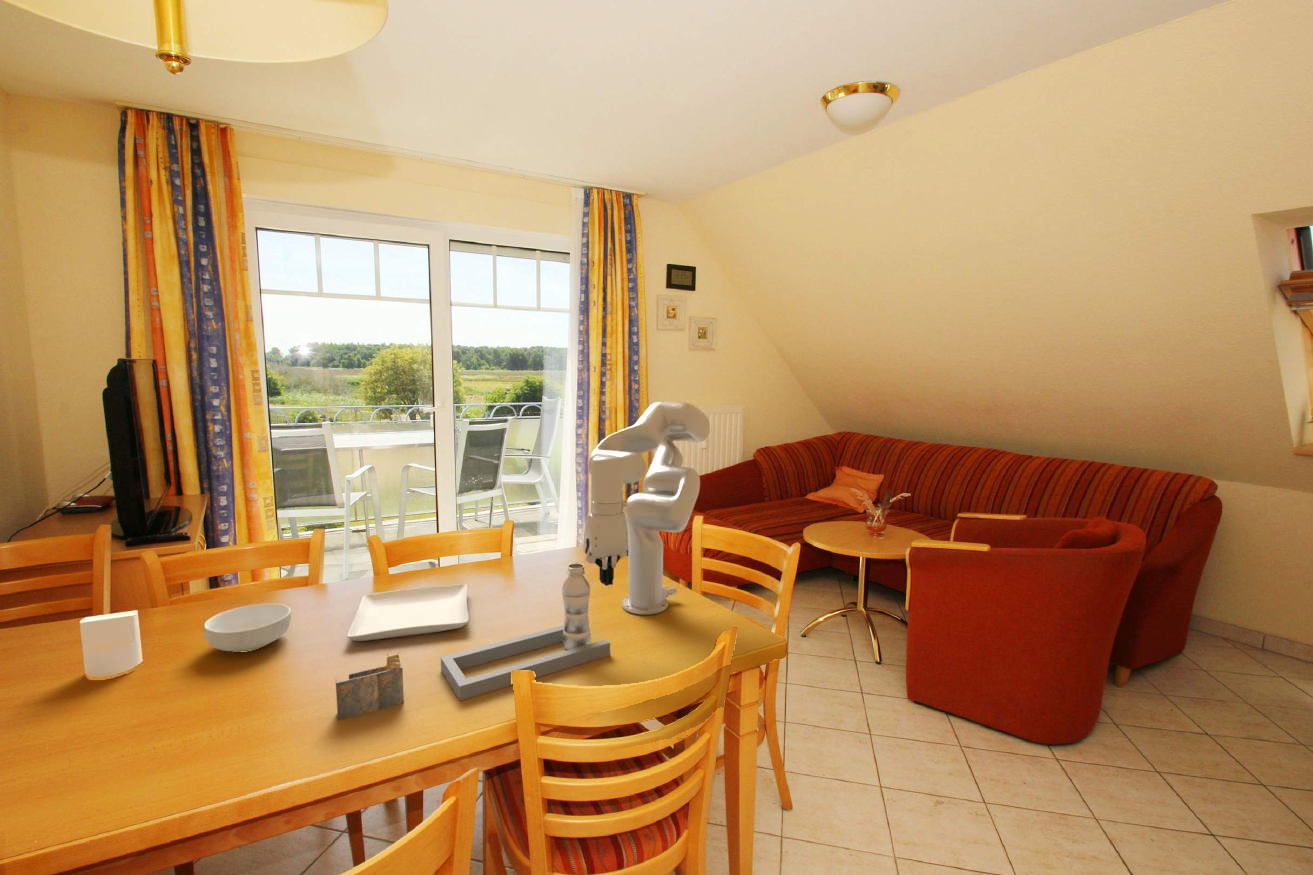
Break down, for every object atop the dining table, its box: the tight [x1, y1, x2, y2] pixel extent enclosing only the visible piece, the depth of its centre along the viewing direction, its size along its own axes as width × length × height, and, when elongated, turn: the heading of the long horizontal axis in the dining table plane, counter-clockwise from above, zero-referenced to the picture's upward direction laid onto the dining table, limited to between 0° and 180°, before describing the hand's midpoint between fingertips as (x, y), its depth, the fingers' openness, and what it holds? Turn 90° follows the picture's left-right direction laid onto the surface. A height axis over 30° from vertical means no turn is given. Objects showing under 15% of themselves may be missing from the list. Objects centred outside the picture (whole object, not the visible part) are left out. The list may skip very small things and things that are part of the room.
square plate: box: [346, 583, 470, 642], centre depth 154 cm, size 27×27×4 cm
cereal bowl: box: [203, 602, 292, 652], centre depth 138 cm, size 17×17×7 cm
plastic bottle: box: [561, 563, 592, 651], centre depth 137 cm, size 6×7×20 cm
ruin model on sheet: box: [334, 653, 405, 721], centre depth 113 cm, size 11×3×10 cm, turn 121°
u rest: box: [440, 624, 611, 701], centre depth 131 cm, size 34×14×3 cm, turn 124°
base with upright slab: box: [79, 610, 143, 677], centre depth 126 cm, size 9×9×12 cm
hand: (606, 583), depth 141 cm, fingers closed
